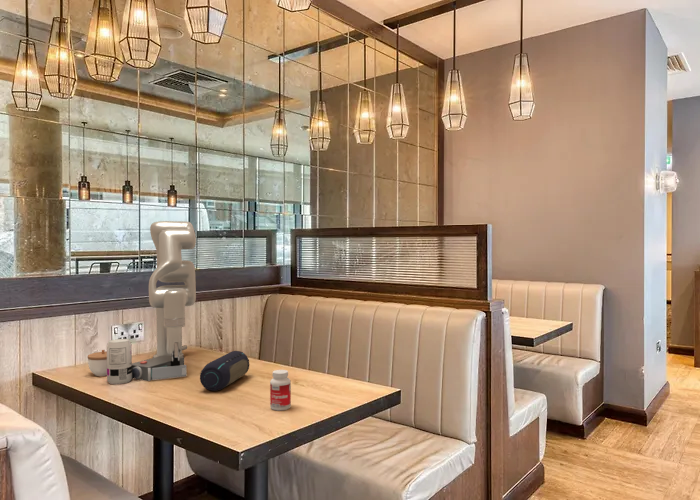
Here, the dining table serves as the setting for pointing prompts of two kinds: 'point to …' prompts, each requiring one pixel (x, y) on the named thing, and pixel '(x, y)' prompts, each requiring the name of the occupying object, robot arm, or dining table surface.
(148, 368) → the camera body
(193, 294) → the robot arm
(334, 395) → the dining table surface
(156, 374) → the thin grey plank
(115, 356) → the supplement can
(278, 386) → the pill bottle
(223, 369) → the portable speaker
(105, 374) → the lidded jar
